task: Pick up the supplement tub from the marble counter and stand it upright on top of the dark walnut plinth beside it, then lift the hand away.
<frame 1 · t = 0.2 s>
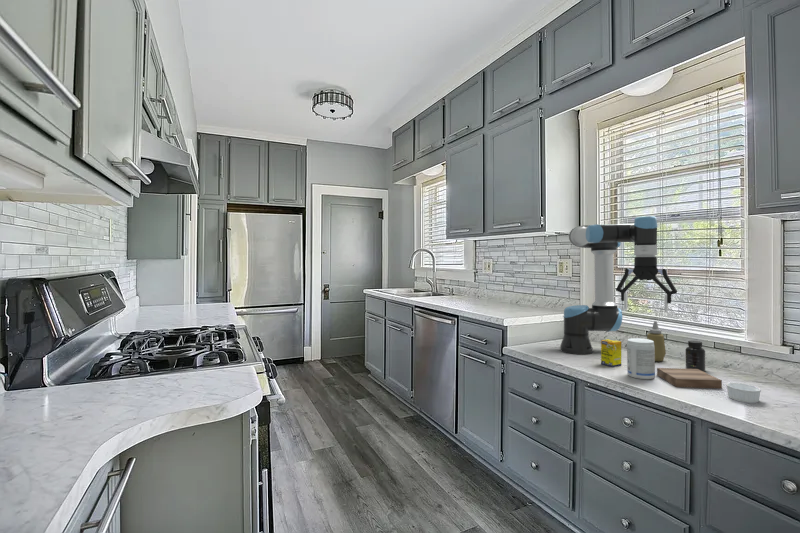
hand: (645, 310, 156), 27 cm above the countertop, fingers open, 13 cm apart
supplement bottle: (695, 370, 169), on the countertop
supplement tub: (640, 377, 161), on the countertop
walnut plinth: (687, 381, 153), on the countertop
supplement box: (611, 365, 178), on the countertop
squeeze bottle: (655, 360, 185), on the countertop
ramekin: (743, 399, 134), on the countertop
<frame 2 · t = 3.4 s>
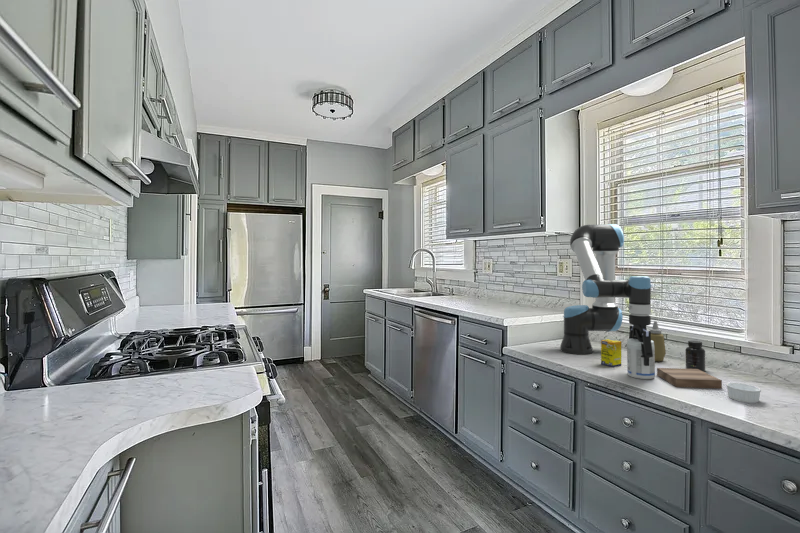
hand: (639, 369, 161), 3 cm above the countertop, fingers closed on supplement tub, 9 cm apart
supplement tub: (640, 376, 161), on the countertop, touching gripper
everything else where it was.
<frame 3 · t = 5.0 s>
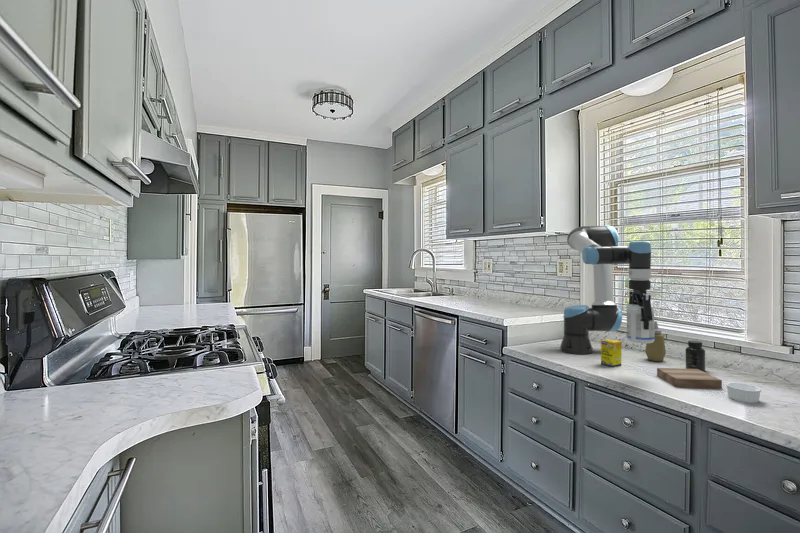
hand: (639, 334, 161), 17 cm above the countertop, fingers closed on supplement tub, 9 cm apart
supplement tub: (640, 341, 161), point 14 cm above the countertop, touching gripper
everything else where it was.
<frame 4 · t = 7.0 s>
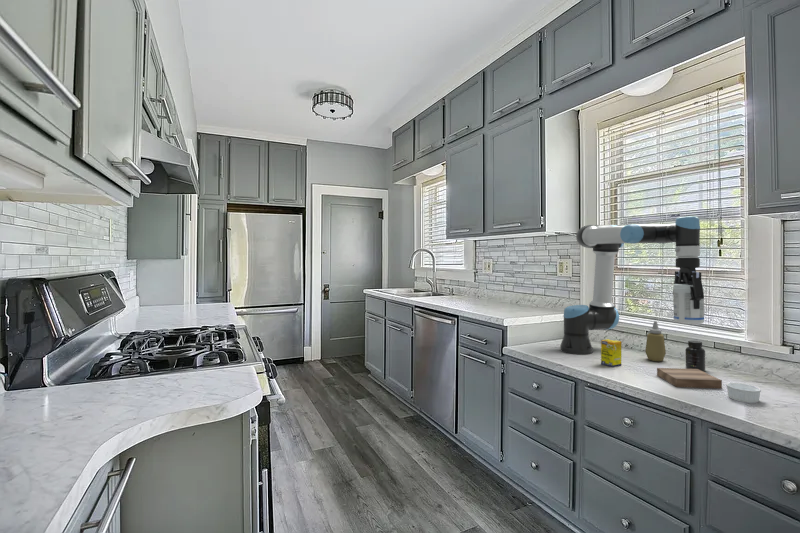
hand: (687, 315, 153), 25 cm above the countertop, fingers closed on supplement tub, 9 cm apart
supplement tub: (688, 323, 153), point 23 cm above the countertop, touching gripper
everything else where it was.
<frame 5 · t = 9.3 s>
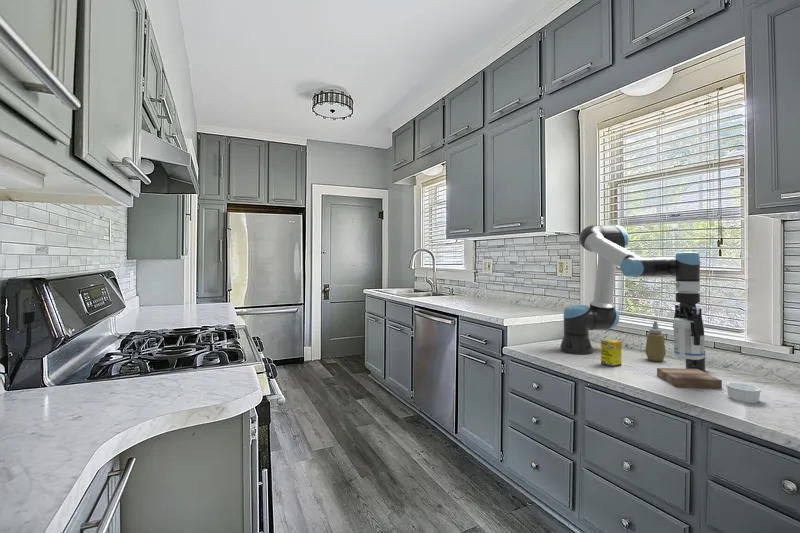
hand: (687, 350, 153), 12 cm above the countertop, fingers closed on supplement tub, 9 cm apart
supplement tub: (688, 357, 153), point 9 cm above the countertop, touching gripper
everything else where it was.
when the fingers open (7 cm above the countertop, at t = 10.9 s): supplement tub drops 1 cm, resting on walnut plinth.
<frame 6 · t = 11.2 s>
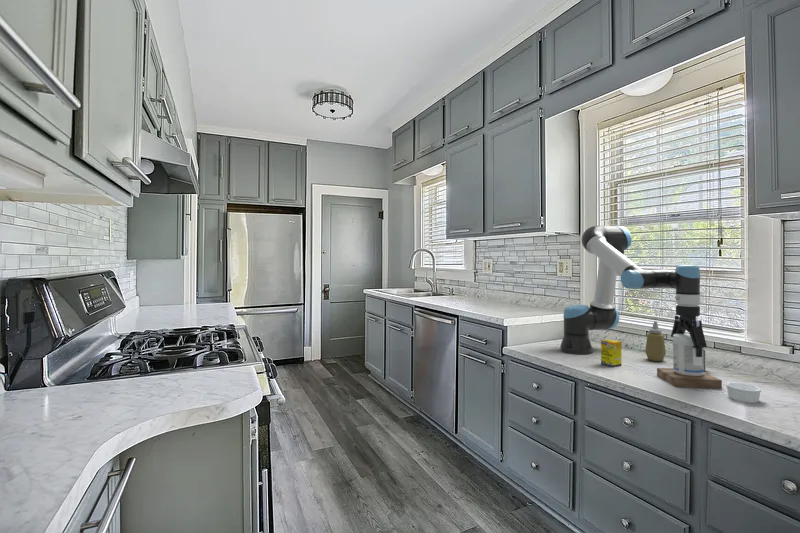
hand: (687, 360, 153), 8 cm above the countertop, fingers open, 12 cm apart
supplement tub: (688, 374, 154), point 3 cm above the countertop, touching walnut plinth
everything else where it was.
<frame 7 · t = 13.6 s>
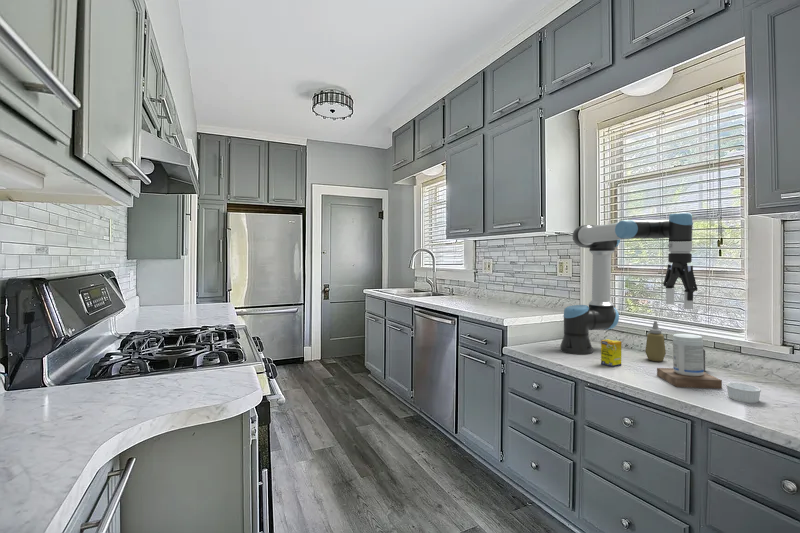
hand: (678, 306, 157), 28 cm above the countertop, fingers open, 13 cm apart
nothing on the countertop moved.
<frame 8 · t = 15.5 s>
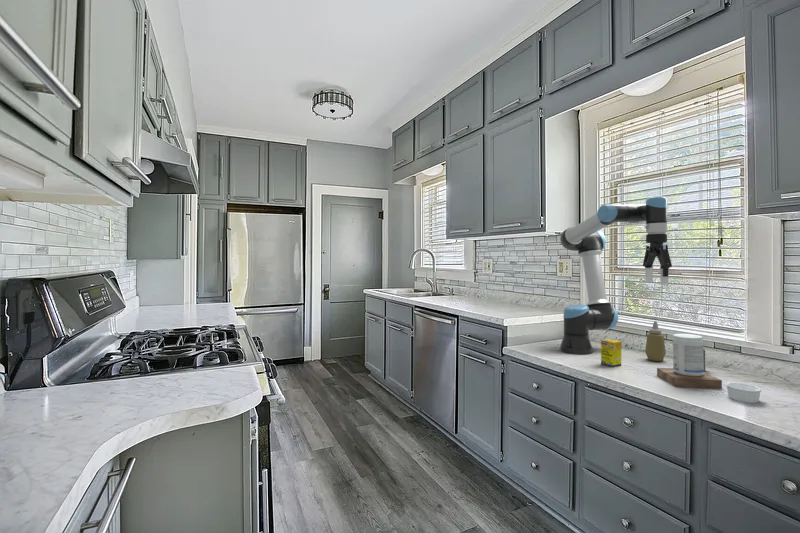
hand: (656, 283, 169), 37 cm above the countertop, fingers open, 13 cm apart
nothing on the countertop moved.
at the end: supplement tub inside the target area on the walnut plinth (0.4 cm from its centre), point 2.8 cm above the walnut plinth's base; supplement tub tilted 0°; the gripper is holding nothing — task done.
